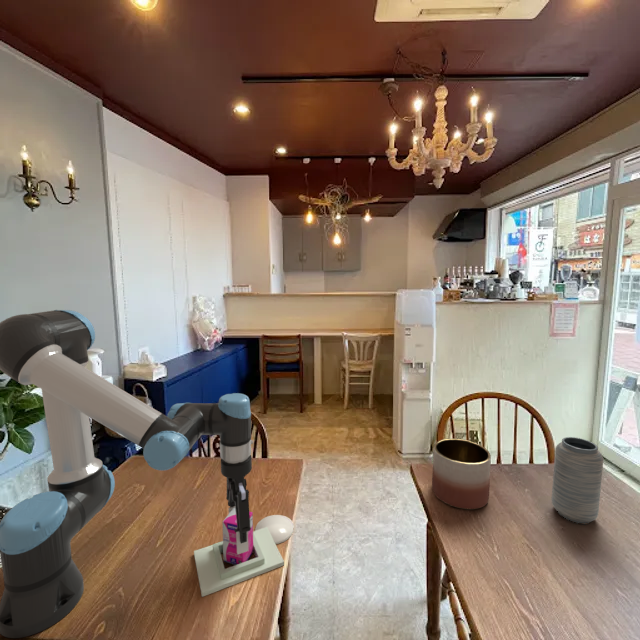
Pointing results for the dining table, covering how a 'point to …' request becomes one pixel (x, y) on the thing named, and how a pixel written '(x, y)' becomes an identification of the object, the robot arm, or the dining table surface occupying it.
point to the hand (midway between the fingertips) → (238, 540)
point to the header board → (220, 578)
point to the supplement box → (230, 540)
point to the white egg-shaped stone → (277, 527)
